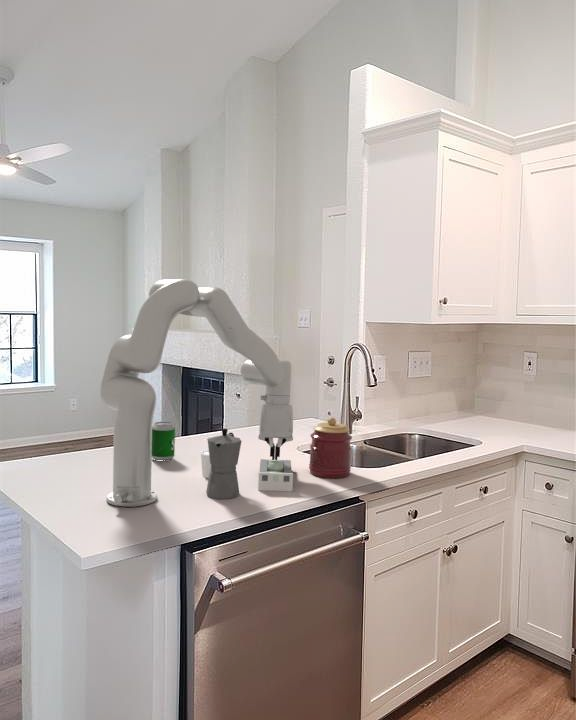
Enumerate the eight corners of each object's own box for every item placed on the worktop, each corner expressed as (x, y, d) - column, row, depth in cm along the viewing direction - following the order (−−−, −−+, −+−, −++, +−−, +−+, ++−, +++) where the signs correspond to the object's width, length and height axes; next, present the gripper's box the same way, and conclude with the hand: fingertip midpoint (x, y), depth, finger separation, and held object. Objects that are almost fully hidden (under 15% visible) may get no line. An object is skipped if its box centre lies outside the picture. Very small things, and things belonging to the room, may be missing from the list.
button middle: (283, 474, 179) (283, 464, 179) (268, 473, 179) (268, 464, 179) (282, 470, 183) (283, 460, 183) (268, 469, 183) (268, 460, 183)
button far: (282, 472, 186) (282, 463, 186) (268, 471, 186) (268, 462, 186) (282, 468, 190) (282, 459, 190) (268, 468, 190) (268, 459, 190)
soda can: (168, 463, 195) (169, 426, 195) (147, 461, 197) (147, 424, 196) (177, 457, 203) (178, 422, 202) (156, 455, 204) (157, 420, 203)
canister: (358, 476, 188) (361, 420, 186) (323, 480, 181) (325, 422, 180) (335, 466, 199) (337, 413, 198) (301, 470, 193) (303, 415, 191)
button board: (292, 491, 169) (293, 474, 169) (258, 490, 169) (258, 472, 169) (290, 469, 193) (290, 454, 192) (260, 468, 193) (260, 453, 192)
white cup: (201, 479, 178) (202, 455, 178) (199, 473, 185) (199, 450, 184) (225, 478, 180) (225, 455, 179) (221, 472, 187) (222, 449, 186)
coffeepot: (233, 503, 157) (235, 434, 156) (198, 500, 159) (200, 432, 157) (247, 486, 172) (249, 424, 171) (214, 484, 174) (216, 421, 172)
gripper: (252, 400, 182) (249, 460, 184) (302, 402, 183) (299, 463, 184) (253, 397, 190) (250, 455, 191) (301, 399, 190) (298, 457, 192)
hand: (274, 458), depth 188 cm, fingers closed
